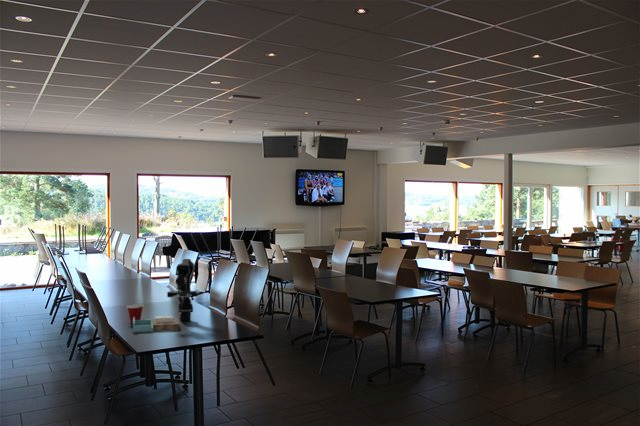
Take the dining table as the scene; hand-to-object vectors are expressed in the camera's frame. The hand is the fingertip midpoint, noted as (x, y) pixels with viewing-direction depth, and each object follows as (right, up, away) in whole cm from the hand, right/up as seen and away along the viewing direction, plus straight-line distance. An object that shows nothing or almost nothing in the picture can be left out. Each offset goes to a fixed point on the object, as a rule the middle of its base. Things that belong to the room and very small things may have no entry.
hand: (181, 307), depth 347 cm
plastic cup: (-34, -12, +8) cm, 37 cm away
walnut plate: (-10, -13, -3) cm, 16 cm away
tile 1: (-13, -9, -4) cm, 17 cm away
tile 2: (-8, -9, -3) cm, 12 cm away
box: (-23, -13, -8) cm, 27 cm away
